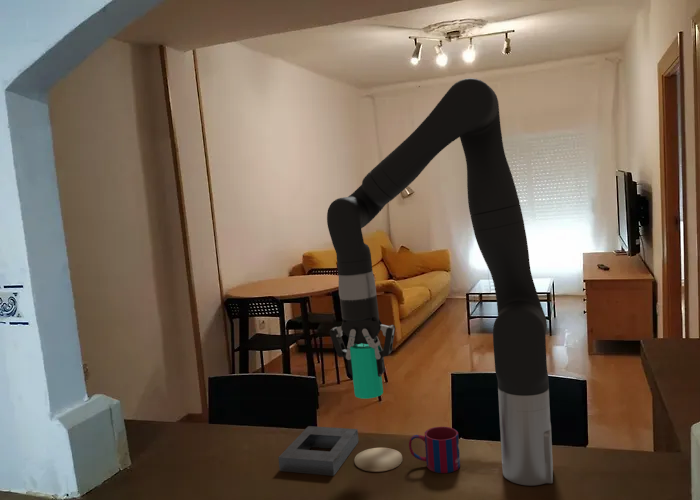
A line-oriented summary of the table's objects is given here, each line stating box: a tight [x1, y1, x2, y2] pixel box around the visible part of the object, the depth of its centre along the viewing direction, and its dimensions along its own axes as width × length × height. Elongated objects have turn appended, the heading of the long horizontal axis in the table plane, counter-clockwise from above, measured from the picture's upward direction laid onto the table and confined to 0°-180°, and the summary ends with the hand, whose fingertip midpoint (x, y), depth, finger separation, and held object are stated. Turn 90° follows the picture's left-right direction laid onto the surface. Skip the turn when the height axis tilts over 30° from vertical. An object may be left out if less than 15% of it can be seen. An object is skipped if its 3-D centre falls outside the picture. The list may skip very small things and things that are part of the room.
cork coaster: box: [354, 447, 403, 473], centre depth 126 cm, size 10×10×1 cm
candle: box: [350, 343, 384, 400], centre depth 125 cm, size 6×6×12 cm
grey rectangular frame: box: [278, 425, 359, 477], centre depth 131 cm, size 12×16×3 cm
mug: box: [408, 426, 461, 474], centre depth 122 cm, size 7×10×7 cm
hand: (367, 375), depth 125 cm, fingers closed on candle, 4 cm apart
